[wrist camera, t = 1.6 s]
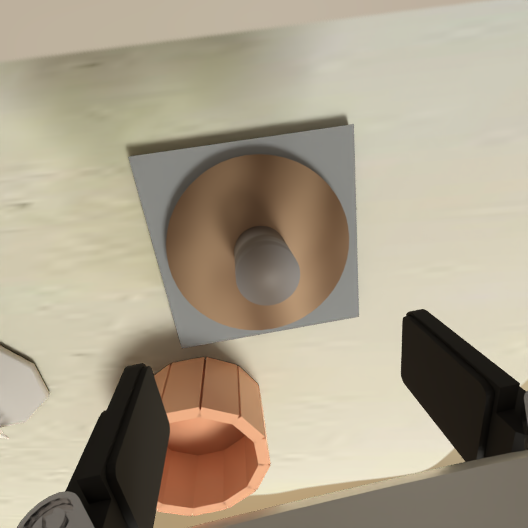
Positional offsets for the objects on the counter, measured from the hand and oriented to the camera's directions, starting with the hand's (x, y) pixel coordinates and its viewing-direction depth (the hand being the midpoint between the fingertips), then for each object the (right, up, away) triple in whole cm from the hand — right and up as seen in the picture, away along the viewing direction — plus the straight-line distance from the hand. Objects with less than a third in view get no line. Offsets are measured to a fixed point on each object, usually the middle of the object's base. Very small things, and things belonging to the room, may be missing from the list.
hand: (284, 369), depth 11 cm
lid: (-1, +5, +13) cm, 14 cm away
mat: (-1, +6, +14) cm, 15 cm away
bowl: (-7, -11, +20) cm, 23 cm away
